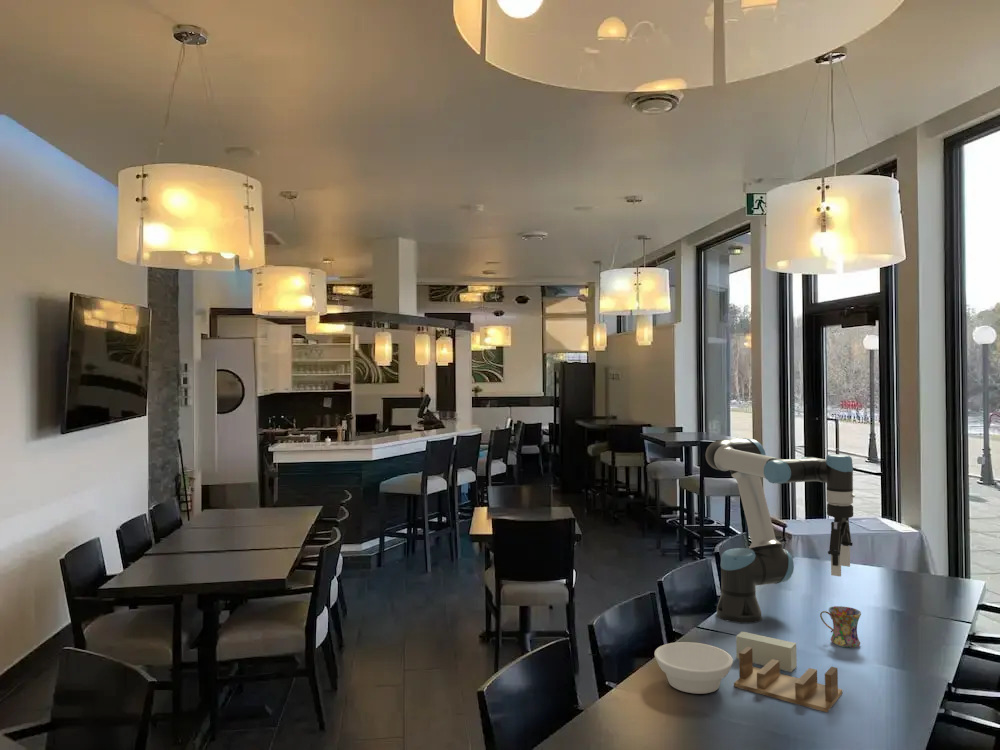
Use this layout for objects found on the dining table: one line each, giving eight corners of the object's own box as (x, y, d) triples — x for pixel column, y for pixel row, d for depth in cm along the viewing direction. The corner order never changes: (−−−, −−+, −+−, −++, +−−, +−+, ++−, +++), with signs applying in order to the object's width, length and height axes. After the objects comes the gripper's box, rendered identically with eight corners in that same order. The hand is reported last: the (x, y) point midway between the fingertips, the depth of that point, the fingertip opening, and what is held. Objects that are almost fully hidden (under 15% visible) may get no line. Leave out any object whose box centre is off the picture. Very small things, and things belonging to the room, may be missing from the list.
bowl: (722, 709, 176) (722, 677, 176) (643, 691, 187) (643, 661, 187) (741, 679, 193) (741, 650, 194) (668, 664, 205) (668, 636, 205)
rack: (733, 686, 189) (733, 657, 189) (752, 670, 199) (752, 642, 199) (827, 712, 173) (826, 680, 173) (842, 693, 184) (841, 663, 184)
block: (736, 659, 208) (736, 636, 208) (742, 654, 212) (742, 631, 212) (791, 672, 198) (790, 648, 198) (796, 667, 202) (796, 643, 202)
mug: (864, 643, 219) (864, 609, 219) (858, 652, 212) (857, 617, 212) (824, 635, 226) (823, 602, 227) (816, 643, 219) (816, 610, 219)
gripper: (844, 511, 206) (845, 582, 205) (860, 499, 225) (861, 563, 225) (817, 508, 210) (818, 577, 210) (835, 497, 230) (836, 560, 230)
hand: (840, 570), depth 218 cm, fingers open, 13 cm apart
